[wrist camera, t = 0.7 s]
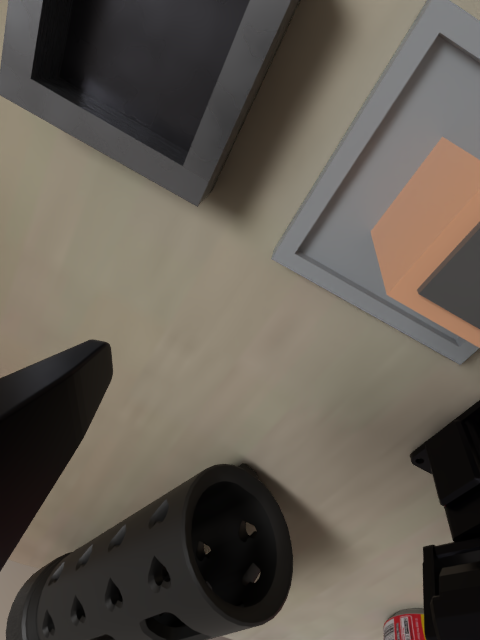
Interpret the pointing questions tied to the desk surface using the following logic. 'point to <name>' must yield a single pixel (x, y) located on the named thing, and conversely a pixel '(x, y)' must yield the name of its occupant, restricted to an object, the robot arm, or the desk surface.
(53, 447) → the robot arm
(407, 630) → the soda can
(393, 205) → the plug
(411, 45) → the tray
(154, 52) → the socket
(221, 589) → the muzzle brake
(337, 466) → the desk surface
